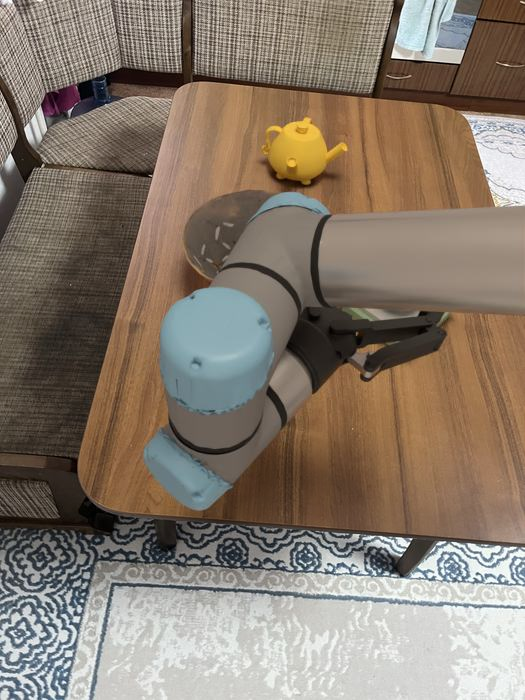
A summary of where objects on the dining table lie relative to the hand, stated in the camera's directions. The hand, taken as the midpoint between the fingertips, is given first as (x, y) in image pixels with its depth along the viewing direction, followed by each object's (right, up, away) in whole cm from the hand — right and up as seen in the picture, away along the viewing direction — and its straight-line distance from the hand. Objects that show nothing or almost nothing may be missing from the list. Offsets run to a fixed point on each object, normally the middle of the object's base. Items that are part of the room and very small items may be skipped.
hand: (396, 255), depth 62 cm
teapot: (-7, +27, +54) cm, 61 cm away
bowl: (-17, +2, +35) cm, 39 cm away
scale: (+8, -5, +32) cm, 33 cm away
